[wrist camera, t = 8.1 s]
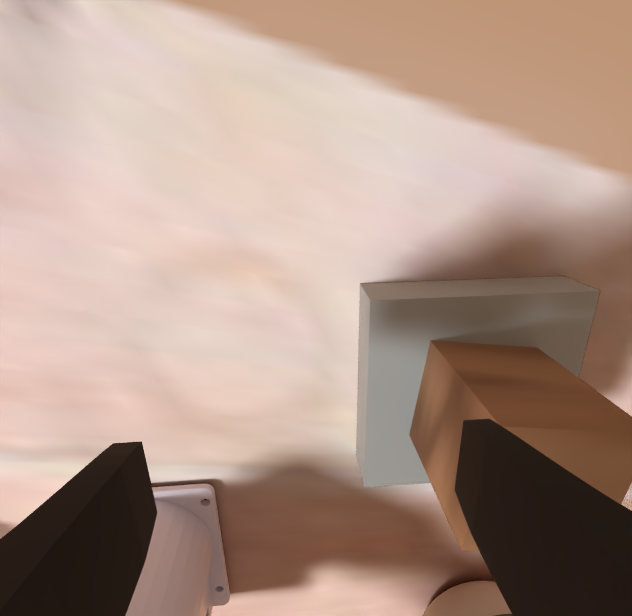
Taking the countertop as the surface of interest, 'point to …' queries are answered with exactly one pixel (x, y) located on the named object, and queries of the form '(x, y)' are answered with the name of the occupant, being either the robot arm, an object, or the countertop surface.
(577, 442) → the walnut block
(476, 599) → the black egg figure
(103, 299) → the countertop surface
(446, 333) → the block
